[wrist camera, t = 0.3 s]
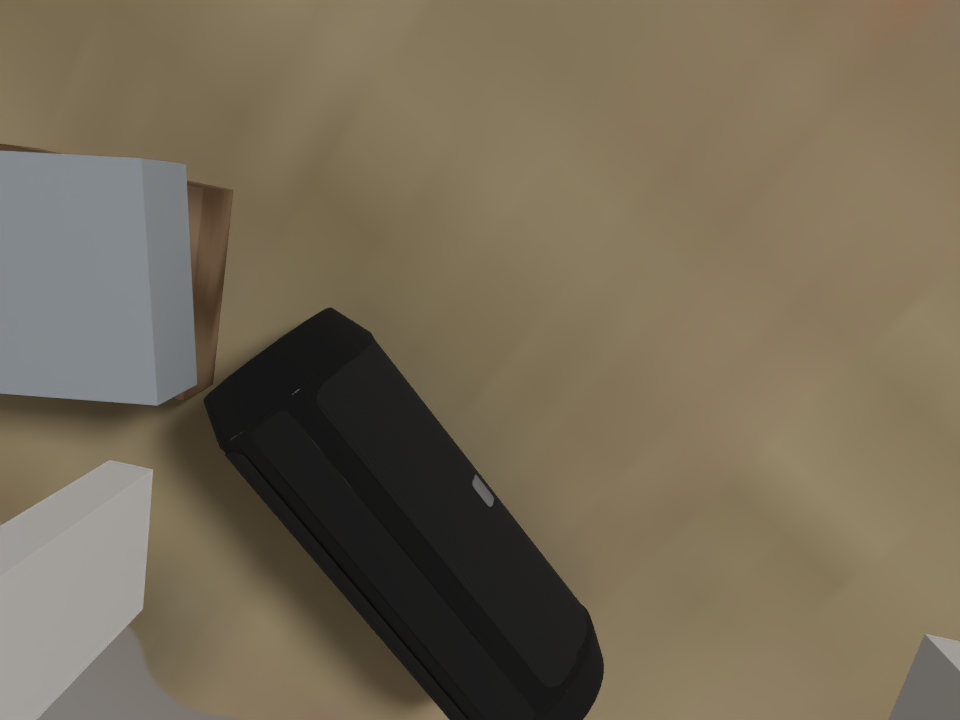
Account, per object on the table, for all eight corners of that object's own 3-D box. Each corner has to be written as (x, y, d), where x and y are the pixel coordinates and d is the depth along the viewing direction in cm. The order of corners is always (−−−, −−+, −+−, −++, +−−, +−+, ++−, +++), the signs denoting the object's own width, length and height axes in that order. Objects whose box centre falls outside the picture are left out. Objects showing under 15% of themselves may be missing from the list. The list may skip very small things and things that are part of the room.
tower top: (-33, 152, 34) (-105, 144, 30) (186, 164, 33) (141, 158, 29) (-5, 369, 37) (-67, 388, 33) (197, 384, 36) (157, 405, 32)
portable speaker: (605, 601, 42) (630, 721, 32) (484, 673, 43) (472, 806, 34) (363, 286, 38) (306, 313, 28) (241, 380, 40) (150, 435, 30)
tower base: (40, 148, 38) (-16, 142, 34) (236, 190, 37) (203, 188, 34) (34, 342, 41) (-18, 356, 37) (216, 382, 40) (183, 400, 36)
